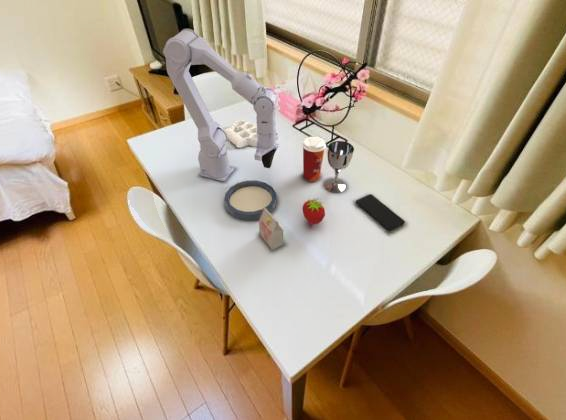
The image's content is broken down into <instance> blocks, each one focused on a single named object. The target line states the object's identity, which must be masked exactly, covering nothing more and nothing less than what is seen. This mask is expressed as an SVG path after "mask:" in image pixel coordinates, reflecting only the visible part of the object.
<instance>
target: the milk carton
mask: <svg viewBox="0 0 566 420" xmlns="http://www.w3.org/2000/svg"><path fill="white" fill-rule="evenodd" d="M258 228H259V236H260V237H261V238H262V239H263V241H264V242H265V243H266V245H267V246H268V248H270V250H271V251H274V250H276V249H277V248H280V247H282V246H283V245H284V229H283V228H282V227H281V226H280V224H279V222H278V221H277V220H276V218H275V217H274V216H273V215H272V213H269V212H268V210H267V209H266V208H264V207H263V211H262V214H261V216H260V219H258Z"/></svg>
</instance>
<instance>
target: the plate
mask: <svg viewBox="0 0 566 420" xmlns="http://www.w3.org/2000/svg"><path fill="white" fill-rule="evenodd" d="M223 200H224V201H223V202H224V205H225V209H226V211H227V212H228V214H229V215H230V216H232V217H234V218H236V219H239V220H242V221H257V220H259V219H260V216H261V214H262V211H263V207H264V208H266V209H267V210H268V212H269V213H270V214H272V212H273V211H274V210H275V208H276V207H277V192H276V191H275V188H273V186H272V185H270V184H269V183H267V182H264V181H259V180H254V179H253V180H244V181H240V182H237V183H235V184H234V185H232V186H230V187H229V188H228V190H227V191H226V192H225V194H224V199H223Z"/></svg>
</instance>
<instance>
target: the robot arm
mask: <svg viewBox="0 0 566 420" xmlns="http://www.w3.org/2000/svg"><path fill="white" fill-rule="evenodd" d="M162 53H163V55H164V57H165V66H166V73H167V75H168V77H169V79H170V81H171V82H172V84H173V86H174V88H175V90H176V92H177V93H178V95H179V97H180V99H181V101H182V102H183V104H184V107H185V108H186V110H187V112H188V113H189V115H190V118H191V119H192V121H193V123H194V125H195V126H196V129H197V141H198V142H199V148H200V150H199V152H198V159H197V160H198V164H199V168H200V169H199V170H200V173H199V174H200V176H201V177H205V178H210V179H212V180H217V181H220V182H225V181H226V180H227V178H229V176H230V175H231V174H232V173H233V172H234V170H235V167H233V166H230V163H229V156H228V151H227V149H228V148H227V146H226V142H227V140H228V138H227V134H226V132H225V131H224V130H225V129H223V127H221V125H220V122H218V121H216V120H214V119H213V117H212V115H211V113H210V111H209V109H208V106H207V105H206V103H205V102H204V99H203V97H202V95H201V93H200V91H199V89H198V87H197V85H196V83H195V81H194V79H193V77H192V75H191V73H190V67H191V66H196V65H199V66H200V65H205V66H207V68H210V69H211V70H213V71H214V72H215V73H216V74H218V75H219V76H221V77H222V78H224V79H226V80H227V81H228V82H229V83H230V84H231V88H232V90H233V91H234V92H236V93H237V94H238V95H239V96H240V97H241V98H243V99H244V100H246V101H247V102H248V103H250V104H251V105H252V107H253V111H254V112H255V113H256V119H255V120H256V127H257V138H258V142H257V147H256V148H255V153H254V160H256V161H259V162H262V166H263V168H265V169H271V167H272V164H273V160H274V156H275V154H276V152H277V150H278V149H279V148H280V144H279V143H278V142H277V141H278V139H279V132H276V129H277V128H276V127H277V123H276V121H277V120H276V119H277V118H276V104H277V99H278V98H277V94H276V93H275V91H274V90H273V89H272V88H270V87H266V86H264V85H262V84H260V83H259V82H258V81H257V80H255V79H254V78H253V74H251V73H250V72H249V73H247V72H246V71H238V70H237V69H236V68H234V66H232V65H231V64H230V63H229V62H228V61H227V60H225V58H223V56H222V55H220V54H219V53H218V52H217V51H216V50H215V49H214V48H212V47H211V46H210V44H209V43H208V42H207V41H206V40H205V38H203V37H202V36H200V35H199V34H198V33H197V32H196V31H195V30H193V29H191V28H183V29H181V31H180V32H178V33H177V34H176V35H174V36H173V37H170V38H169V39H167V41H166V43H165V45H164V47H163V50H162Z"/></svg>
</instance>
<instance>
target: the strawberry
mask: <svg viewBox="0 0 566 420" xmlns="http://www.w3.org/2000/svg"><path fill="white" fill-rule="evenodd" d="M318 199H319V198H317V199H316V200H315V198H313V199H307V201H304V203H303V205H302V208H301V210H302V214H303V217H304V218H305V220H306V221H307V222H308V223H309V225H311V226H315V225H318V224H319V223H321V222H322V221H323V220H324V218H325V216H326V211H325V207H324V206H323V204H324V201H323V202H321V201H318Z"/></svg>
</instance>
